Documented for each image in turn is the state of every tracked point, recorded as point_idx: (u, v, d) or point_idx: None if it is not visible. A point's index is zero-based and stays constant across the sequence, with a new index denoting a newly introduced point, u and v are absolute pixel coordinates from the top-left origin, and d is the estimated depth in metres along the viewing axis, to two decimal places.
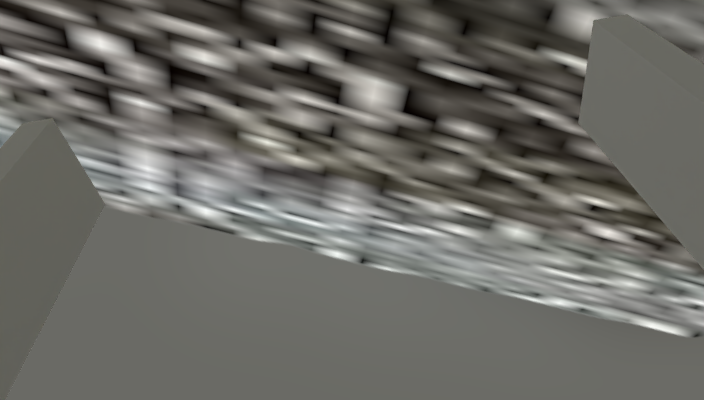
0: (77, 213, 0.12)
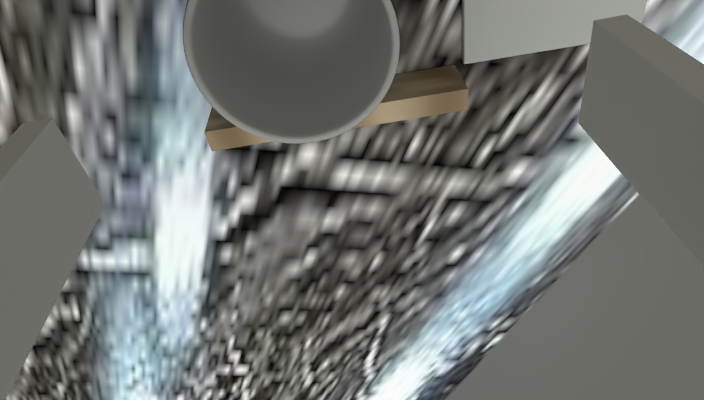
0: (77, 213, 0.12)
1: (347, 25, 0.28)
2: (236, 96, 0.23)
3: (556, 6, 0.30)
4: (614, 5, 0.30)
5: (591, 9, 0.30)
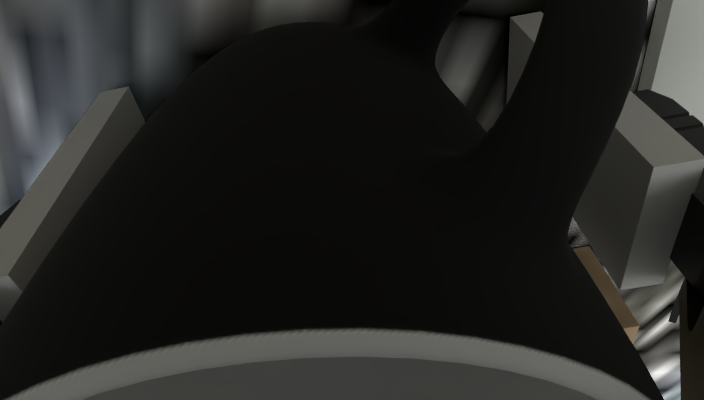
0: None
1: None
2: None
3: None
4: None
5: None
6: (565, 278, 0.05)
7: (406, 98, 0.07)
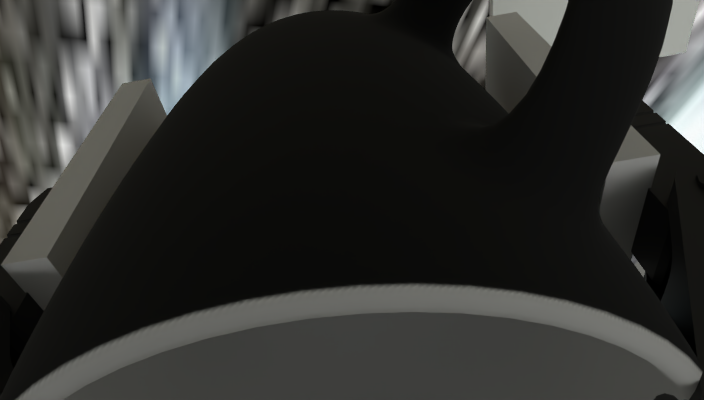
0: None
1: None
2: None
3: None
4: None
5: None
6: (599, 242, 0.05)
7: (431, 77, 0.07)
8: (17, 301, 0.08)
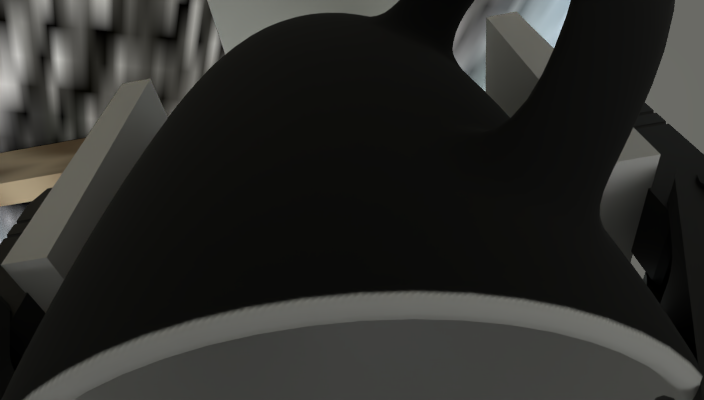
0: None
1: None
2: None
3: None
4: None
5: None
6: (601, 248, 0.05)
7: (431, 81, 0.07)
8: (17, 301, 0.08)
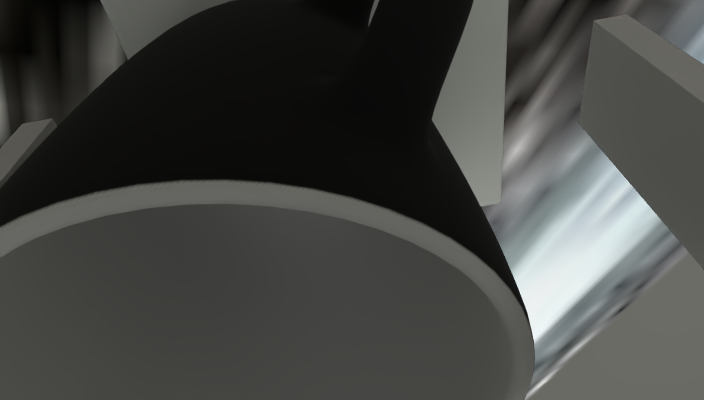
0: None
1: None
2: None
3: None
4: None
5: None
6: (417, 170, 0.06)
7: (319, 47, 0.09)
8: None
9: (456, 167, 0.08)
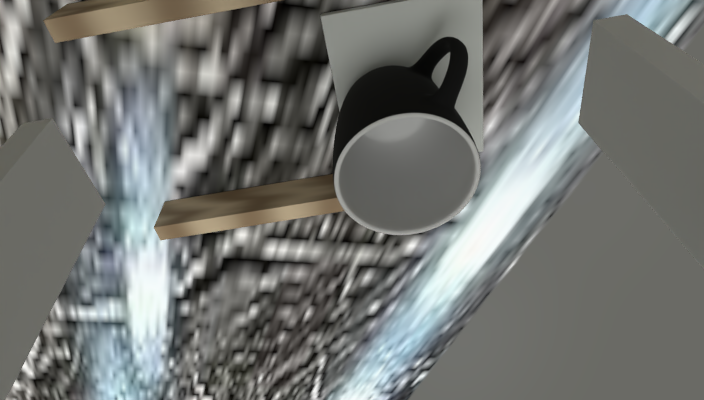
0: (77, 213, 0.12)
1: (427, 134, 0.38)
2: (358, 201, 0.33)
3: None
4: None
5: None
6: (452, 114, 0.29)
7: (423, 85, 0.31)
8: None
9: (461, 118, 0.30)
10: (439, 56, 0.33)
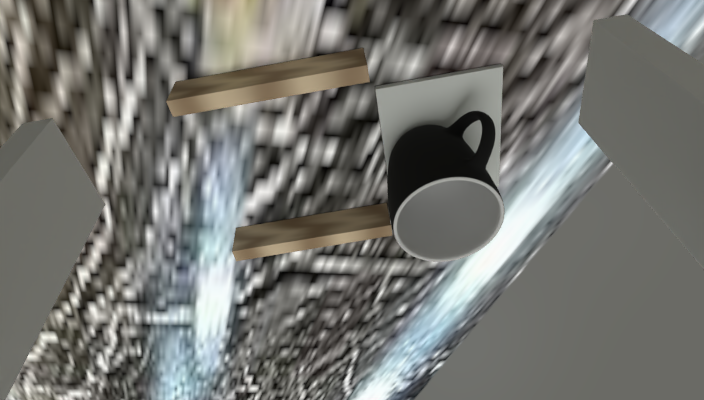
0: (77, 213, 0.12)
1: None
2: (407, 235, 0.42)
3: None
4: None
5: None
6: (484, 175, 0.38)
7: (459, 149, 0.40)
8: None
9: None
10: (470, 122, 0.42)
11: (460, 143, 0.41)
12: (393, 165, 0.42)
